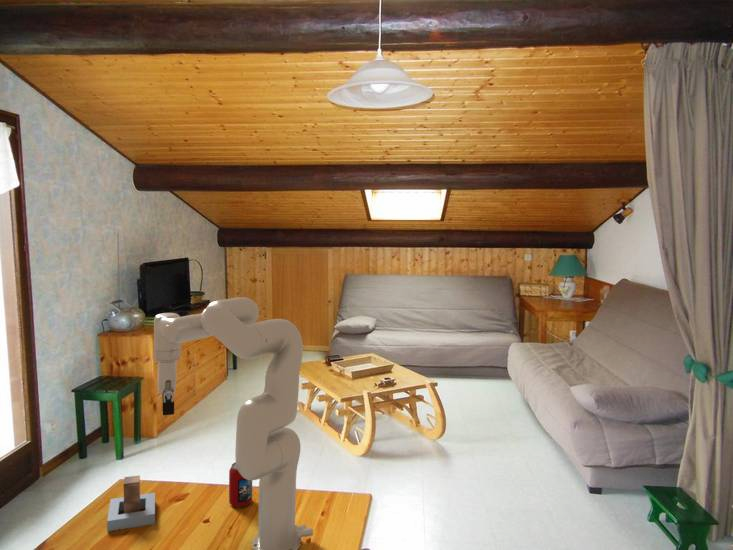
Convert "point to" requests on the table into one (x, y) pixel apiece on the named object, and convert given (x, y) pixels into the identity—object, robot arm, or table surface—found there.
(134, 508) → the walnut peg
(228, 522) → the table surface
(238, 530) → the table surface
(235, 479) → the beverage can
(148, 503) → the grey square frame
